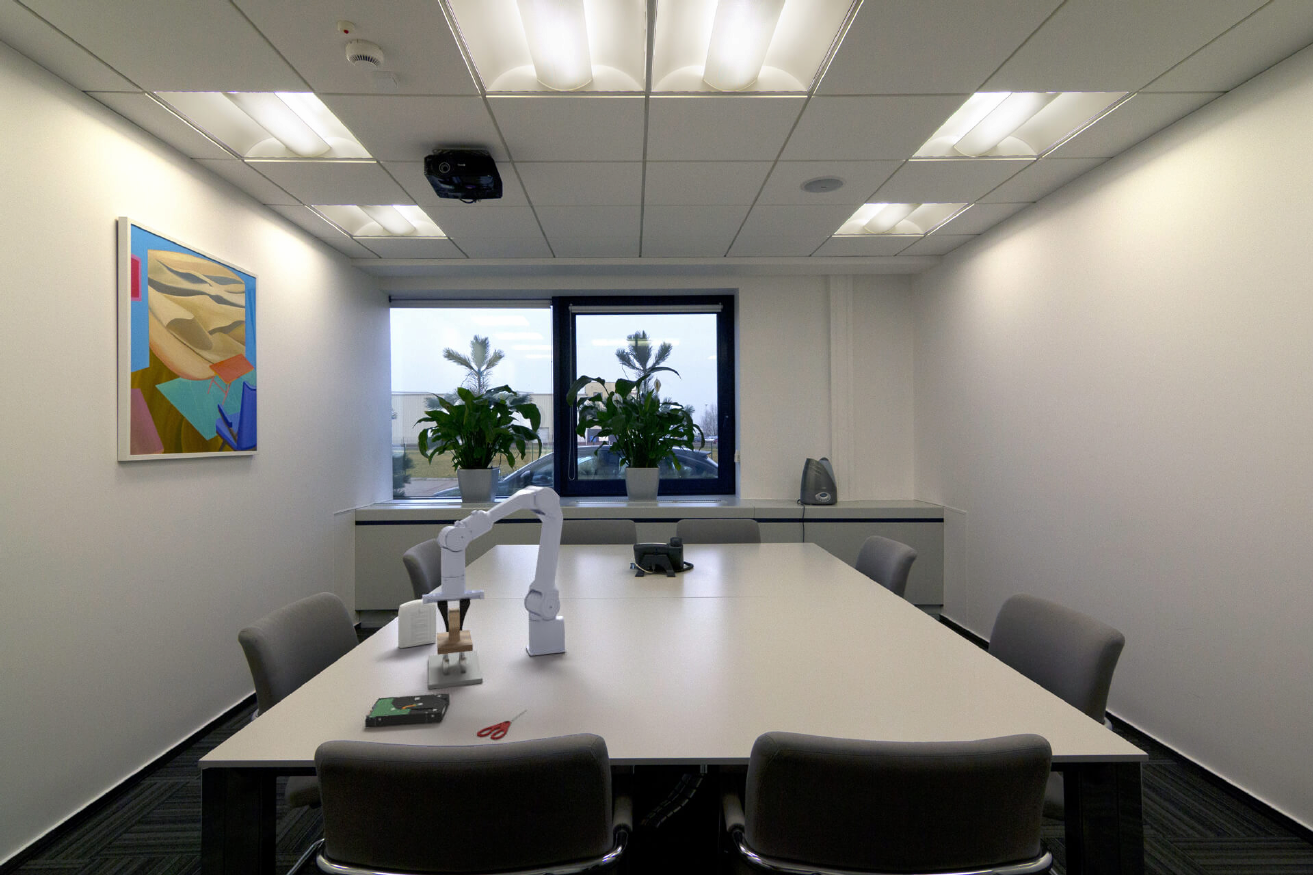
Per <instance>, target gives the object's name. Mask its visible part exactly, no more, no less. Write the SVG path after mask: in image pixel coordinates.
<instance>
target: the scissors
mask: <svg viewBox="0 0 1313 875" xmlns="http://www.w3.org/2000/svg"><path fill="white" fill-rule="evenodd" d="M527 711H528V709H524V710H523V711H521V712H520V713H518V714H516V715H515V716H514V717H511V718H510V719H508V720H505V721H502V722H499V723H496V724H493V725H489V726H487V727H484V728H482V729H480V730H479V731H477V733H476V736H477V737H479V738H484V737H488V736H489V735H490V739H491V740H496V741H497V740H500V739H502V738H503V737H505V735H507V732H508V731H509V727H510V726H511V725H512V723H513V722H514V721H515V720H517V719H518V718H520V717H521V716H523V715H524V714H526V712H527ZM486 731H487V732H486ZM485 732H486V733H485ZM501 732H502V733H501ZM500 733H501V734H500ZM499 734H500V735H499ZM496 735H499V736H496Z"/></svg>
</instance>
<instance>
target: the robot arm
mask: <svg viewBox="0 0 1313 875" xmlns="http://www.w3.org/2000/svg"><path fill="white" fill-rule="evenodd" d="M560 500H561V497H560V495H558V493H557V492H556V491H555V490H554V489H552V487H548V486H546V487H543V486H535V485H528V486H526V487H525V488H522V489H519V490H518V491H516V492H515V493H513V494H512V495H510V496H509V497H508V498H506V499H504V500H502V501H501V502H500V503H498V504H496V505H495V506H493V507H491V508H490V509H489V510H487V511H484V510H481V509H479V510H474V509H473V510H472V511H470V515H469V516H467V517H465V518H463V519H461V520H456V521H454V525H448V526H444V527H443V528H442V529H441V530H440V531H439V532H438V536H437V537H436V542H437V544H438V545H439V547H440V552H441V553H440V554H441V555H440V556H441V557H440V572H441V573H440V576H441V577H440V578H441V582H440V584H441V591H440V592H434V593H428V594H422V600H423V604H427V603H435V604H437V606H436V608H438V611H439V613H440V614H441V617H442V620H443V623H444V628H445V632H449V624H448V608H449V603H448V602H459V603H458V604H459V606H458V608H459V612H460V631H463V626H464V622H465V618H466V615H467V612H468V610H469V608H470V606H471V600H484V599H485V591H484V589H473V590H472V589H469V590H468V589H467V588H466V587H467V586H466V585H467V584H466V548H467V547H468V546H469V544H470V542H472V541H474V540H476V539H477V538H479V537H481V536H482V535H484V534H486V533H487V532H489V531H491V530H492V528H493V525H494V523H496V522H497V521H499V520H501V519H503V518H505V517H507V516H508V515H511V514H513V513H514V512H516V511H518V510H529V511H531V512H532V513H534V515H535V516H537V517H538V518H539V520H540V521H541V531H540V537H539V538H540V539H539V545H538V552H537V553H538V554H537V559H536V560H537V561H536V567H535V575H534V579H533V581H532V582H531V583H530V585H529V586H528V592H527V593H526V595H525V598H524V600H523V601H524V602H523V605H524V608H525V610H527V612H528V644H527V645H525V649H526V651H527V653H528V655H529V656H542V655H548V654H551V655H552V654H556V653H557V654H558V653H560V654H561V653H566V639H565V638H566V634H565V633H566V630H565V628H566V627H565V620H564V616H563V615H558V614H559V612H560V610H561V602H560V598H559V596H560V595H559V594H560V589H559V588H558V586H557V584H556V575H557V569H558V560H559V552H560V547H561V546H560V545H561V538H562V529H563V522H564V515H563V511H562V507H561V504H560ZM466 589H467V590H466Z"/></svg>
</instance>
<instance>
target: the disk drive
mask: <svg viewBox="0 0 1313 875" xmlns="http://www.w3.org/2000/svg"><path fill="white" fill-rule="evenodd" d="M450 703H451V702H450V693H437V694H425V695H424V694H423V695H421V694H420V695H409V696H408V695H407V696H405V695H403V696H390V697H389V696H388V697H379V698H378V699H377V700H376V701H375V703H374V704H373V705H372V706H371V709H370V710H369V712H368V714H366V715H365V720H364V724H365V727H370V728H382V727H384V728H385V727H396V726H397V727H399V726H412V725H424V724H425V725H427V724H441V723H442V722H443V719H444V717H445V715H446V713H447V710H448V708H449V705H450ZM365 727H364V728H365Z"/></svg>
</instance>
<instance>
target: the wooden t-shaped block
mask: <svg viewBox="0 0 1313 875" xmlns="http://www.w3.org/2000/svg"><path fill="white" fill-rule="evenodd" d="M448 624H449V632H446V631H444V632H438V633H437V632H436V649H437V651H436V652H437V654H436V655H441V654H450V653H459V652H468V651H474V644H473V639H472V635H471V631H470V630H469V629H467V630H462V631H460V610H459V607H450V608H449V607H448Z"/></svg>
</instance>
